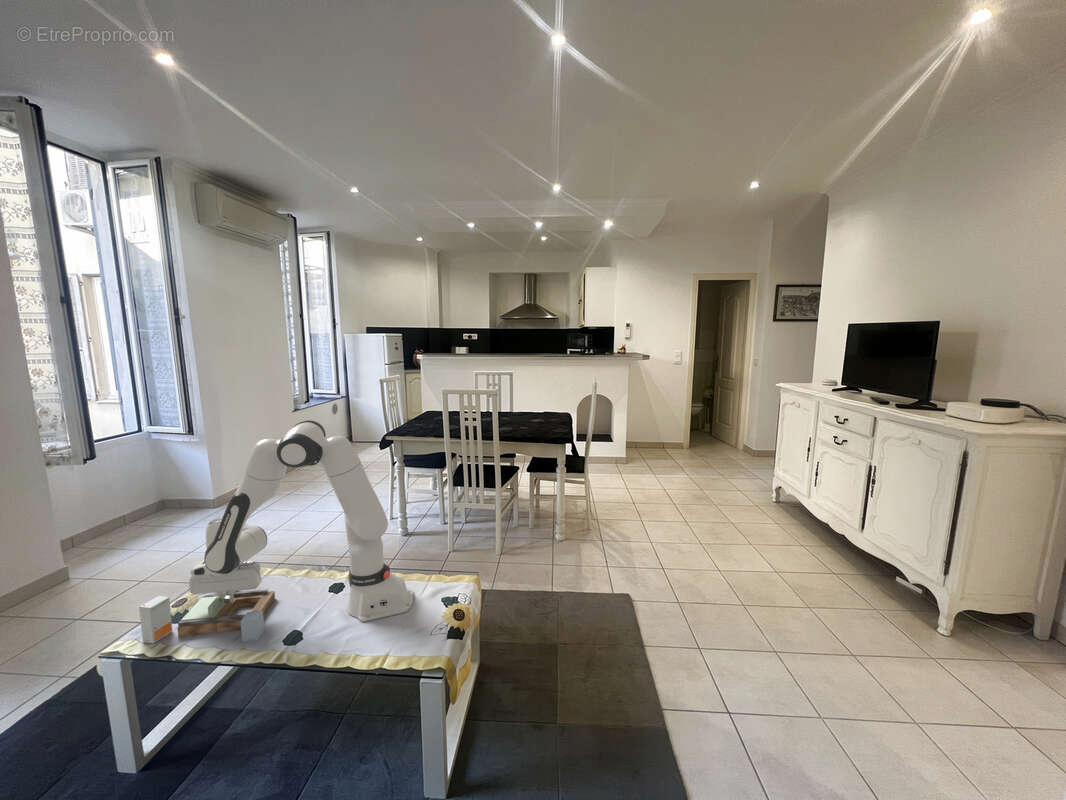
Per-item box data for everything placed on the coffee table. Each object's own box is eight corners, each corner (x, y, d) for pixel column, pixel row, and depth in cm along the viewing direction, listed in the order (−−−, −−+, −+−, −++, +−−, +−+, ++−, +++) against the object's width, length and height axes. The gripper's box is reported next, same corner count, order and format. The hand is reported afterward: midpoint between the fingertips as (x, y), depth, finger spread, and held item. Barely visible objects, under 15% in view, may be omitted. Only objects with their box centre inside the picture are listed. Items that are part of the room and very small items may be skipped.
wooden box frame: (275, 598, 152) (274, 587, 151) (255, 627, 136) (254, 616, 136) (206, 605, 147) (205, 594, 147) (178, 636, 132) (176, 624, 131)
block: (264, 630, 135) (262, 610, 134) (258, 639, 131) (256, 619, 130) (248, 632, 134) (247, 612, 133) (242, 641, 130) (240, 621, 129)
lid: (231, 597, 147) (230, 585, 146) (213, 619, 135) (211, 606, 135) (202, 599, 145) (201, 588, 144) (181, 622, 133) (179, 610, 133)
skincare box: (153, 644, 128) (149, 608, 127) (142, 642, 129) (137, 606, 127) (173, 631, 134) (169, 596, 132) (162, 629, 135) (158, 595, 133)
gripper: (263, 556, 144) (266, 593, 146) (195, 561, 140) (199, 599, 142) (255, 565, 138) (258, 604, 140) (184, 571, 134) (188, 611, 136)
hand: (228, 601), depth 141 cm, fingers closed
